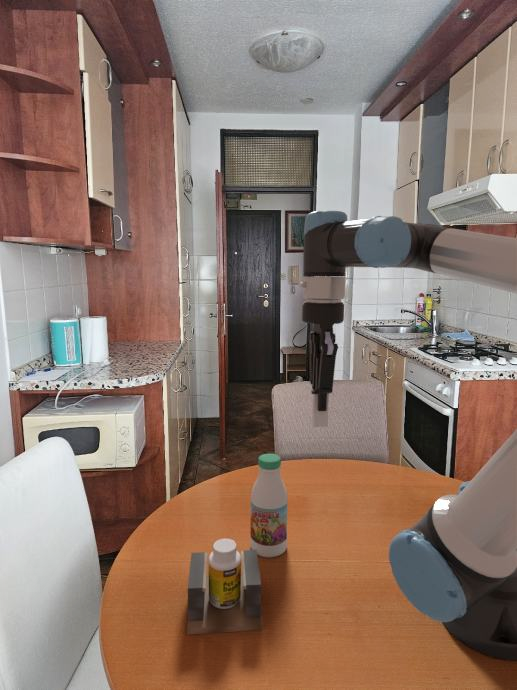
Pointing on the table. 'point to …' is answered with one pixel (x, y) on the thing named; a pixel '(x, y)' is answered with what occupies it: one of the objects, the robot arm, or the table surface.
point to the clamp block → (231, 619)
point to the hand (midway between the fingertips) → (319, 425)
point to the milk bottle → (269, 509)
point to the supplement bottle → (224, 574)
